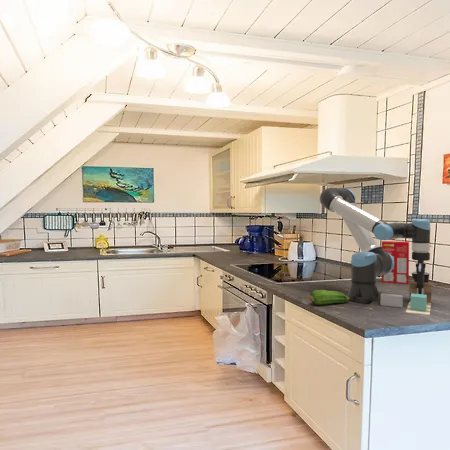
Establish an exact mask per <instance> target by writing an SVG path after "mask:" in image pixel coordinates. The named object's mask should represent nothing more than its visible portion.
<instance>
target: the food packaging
mask: <svg viewBox="0 0 450 450" xmlns="http://www.w3.org/2000/svg"><path fill="white" fill-rule="evenodd" d="M381 246H382V248H383V249H384V251H385V252H387V253H389V254H390V255H391V256H392V257H393V259H394V267H393V269H392V271H391V272H389V273H388V274H385V275H381V283H382V284H383V283H385V284H399V285H400V284H402V285H410V280H409V276H410V272H409V271H410V242H409V241H396V240H395V241H390V240H381Z"/></svg>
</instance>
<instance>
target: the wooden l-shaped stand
mask: <svg viewBox="0 0 450 450" xmlns="http://www.w3.org/2000/svg"><path fill="white" fill-rule="evenodd" d="M415 286H417V282H413V280H412V281H410V280H409V302H408V305H407V306H406V310H405V313H410V314H418V315H423V316H425V315H426V316H430V315H431V308H432V307H431V306H432V282H428V283H425V282H423V295H427V309H426V311H417V310H410V304H411V294H412V293H413V294H417V288H415Z"/></svg>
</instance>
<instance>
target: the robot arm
mask: <svg viewBox="0 0 450 450" xmlns="http://www.w3.org/2000/svg"><path fill="white" fill-rule="evenodd" d="M319 202H320V204H321V206H322V207H323V208H324V209H325V210H328V211H330V212H331V213H336V214H337V215H338V216H340V217H341V218H342V219H343V221H344V223H345V224H346V227H347V228H348V230H349V231H350V234H351V235H352V237H353V239H354V241H355V243H356V244H357V246H358V247H359V249H360V251H361V252H360V251H359V252H356V253H353V254H352V256H351V261H350V265H351V266H350V267H351V268H350V272H351V273H350V275H351V276H350V277H351V280H350V281H351V284H350V287H349V290H348V292H347V296H348V297H349V300H350V301H352V302H356V303H362V304H372V302H376V301H379V300H381V294H380V293H379V289H378V286H377V277H378V276H382V275H385V274H388V273H389V272H391V271H392V269H393V267H394V259H393V257H392V256H391V255H390V254H389V253H387V252H385V251H384V249H383V248H382V245H379V244H377V242H376V240H375V239H374V237H375V238H376V239H377V240H379V241H390V240H394V239H411V251H412V252H411V260H413V261H417V262H416V263H415V268H416V269H415V272H416V273H417V286H415V288H417V294H423V282H424V273H425V272H426V263H425V261H427V262H428V261H430V260H431V253H430V252H431V247H432V244H431V220H429V219H428V218H422V219H421V218H413V219H412V221H411V223H410V222H408V223H407V222H389V223H388V222H386V221H384V220H383V219H381V218H379V217H377V216H375V215H373V214H371V213H369V212H367V211H366V210H364V209H362V208H360V207H358V206H357V203H356V195H355V193H354V192H353V190H351V189H349V188H347V187H327V188H325V189H324V190H322V191H321V193H320V195H319ZM371 233H372V234H373V235H374V237H373V235H372V234H371ZM349 300H348V301H349Z"/></svg>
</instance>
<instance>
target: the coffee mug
mask: <svg viewBox="0 0 450 450" xmlns="http://www.w3.org/2000/svg"><path fill="white" fill-rule="evenodd" d="M411 279H412V281H413V282H417V273H416V271H412V272H411ZM429 279H430V273H429V272H428V271H427V272H426V271H425V273H424V282H425V283H429Z"/></svg>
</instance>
